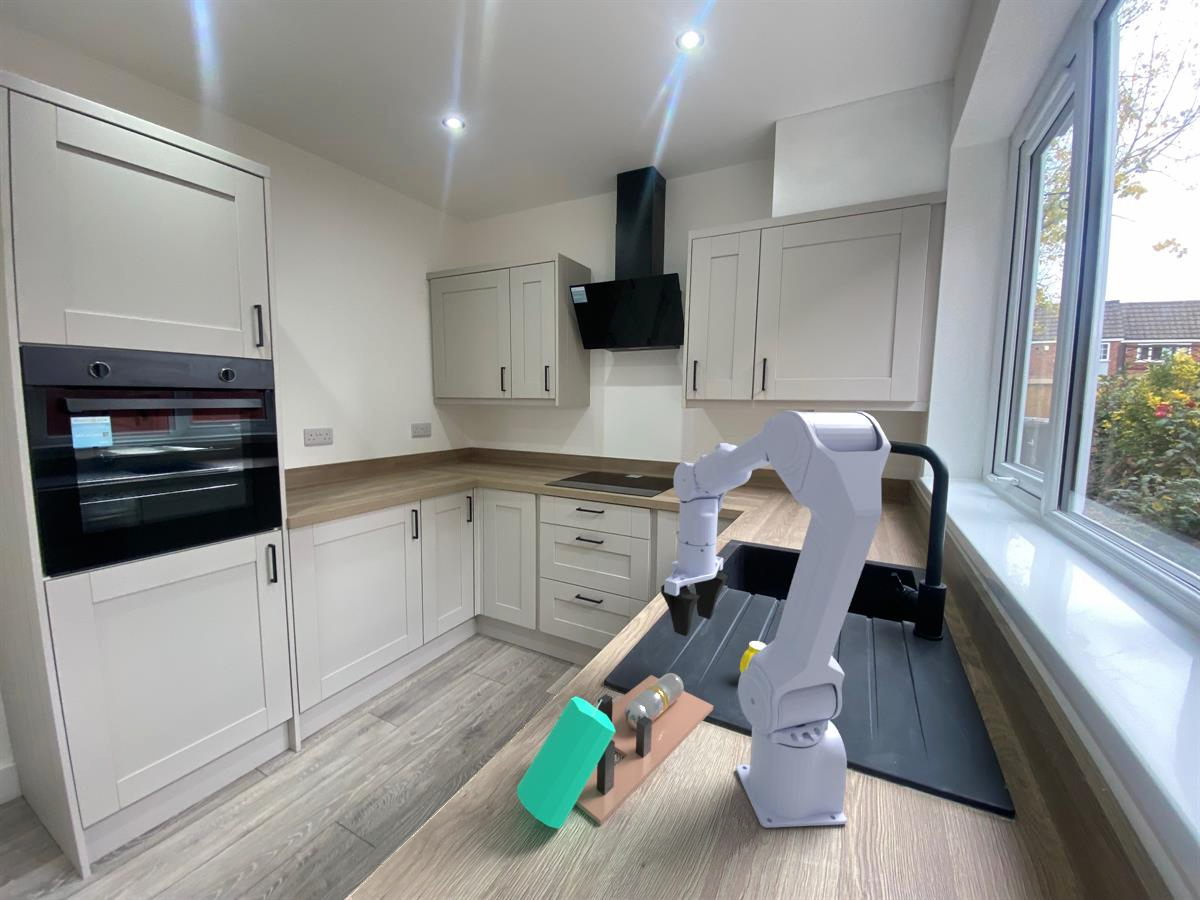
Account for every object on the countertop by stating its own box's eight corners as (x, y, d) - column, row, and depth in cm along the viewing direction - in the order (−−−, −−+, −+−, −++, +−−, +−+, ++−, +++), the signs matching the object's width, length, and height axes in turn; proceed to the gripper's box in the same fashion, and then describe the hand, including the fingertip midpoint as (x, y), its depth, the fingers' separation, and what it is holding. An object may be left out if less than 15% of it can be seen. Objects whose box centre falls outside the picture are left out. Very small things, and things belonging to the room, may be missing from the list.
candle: (537, 786, 53) (595, 688, 56) (572, 828, 49) (632, 720, 52) (506, 783, 49) (571, 678, 52) (542, 829, 45) (609, 712, 48)
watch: (761, 672, 78) (765, 638, 77) (774, 681, 75) (779, 646, 75) (734, 678, 75) (738, 643, 75) (747, 688, 73) (751, 652, 72)
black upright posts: (605, 722, 64) (606, 684, 63) (650, 750, 59) (652, 709, 58) (557, 760, 57) (558, 717, 56) (604, 795, 52) (605, 749, 51)
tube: (667, 687, 72) (667, 664, 71) (687, 697, 69) (688, 674, 69) (618, 727, 63) (618, 702, 62) (640, 741, 60) (641, 715, 60)
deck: (651, 678, 75) (651, 674, 75) (713, 709, 68) (713, 705, 68) (532, 769, 56) (532, 764, 56) (600, 825, 49) (600, 820, 49)
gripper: (697, 526, 79) (694, 602, 80) (648, 545, 68) (645, 632, 70) (736, 534, 74) (732, 615, 76) (690, 556, 63) (686, 650, 65)
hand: (693, 624), depth 72 cm, fingers open, 7 cm apart
